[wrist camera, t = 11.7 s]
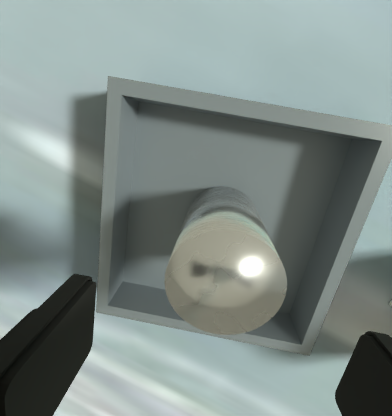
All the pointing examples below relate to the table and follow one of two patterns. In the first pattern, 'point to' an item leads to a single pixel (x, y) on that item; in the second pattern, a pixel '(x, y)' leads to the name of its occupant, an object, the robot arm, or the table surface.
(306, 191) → the tray
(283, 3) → the table surface
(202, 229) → the tin can
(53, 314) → the robot arm
